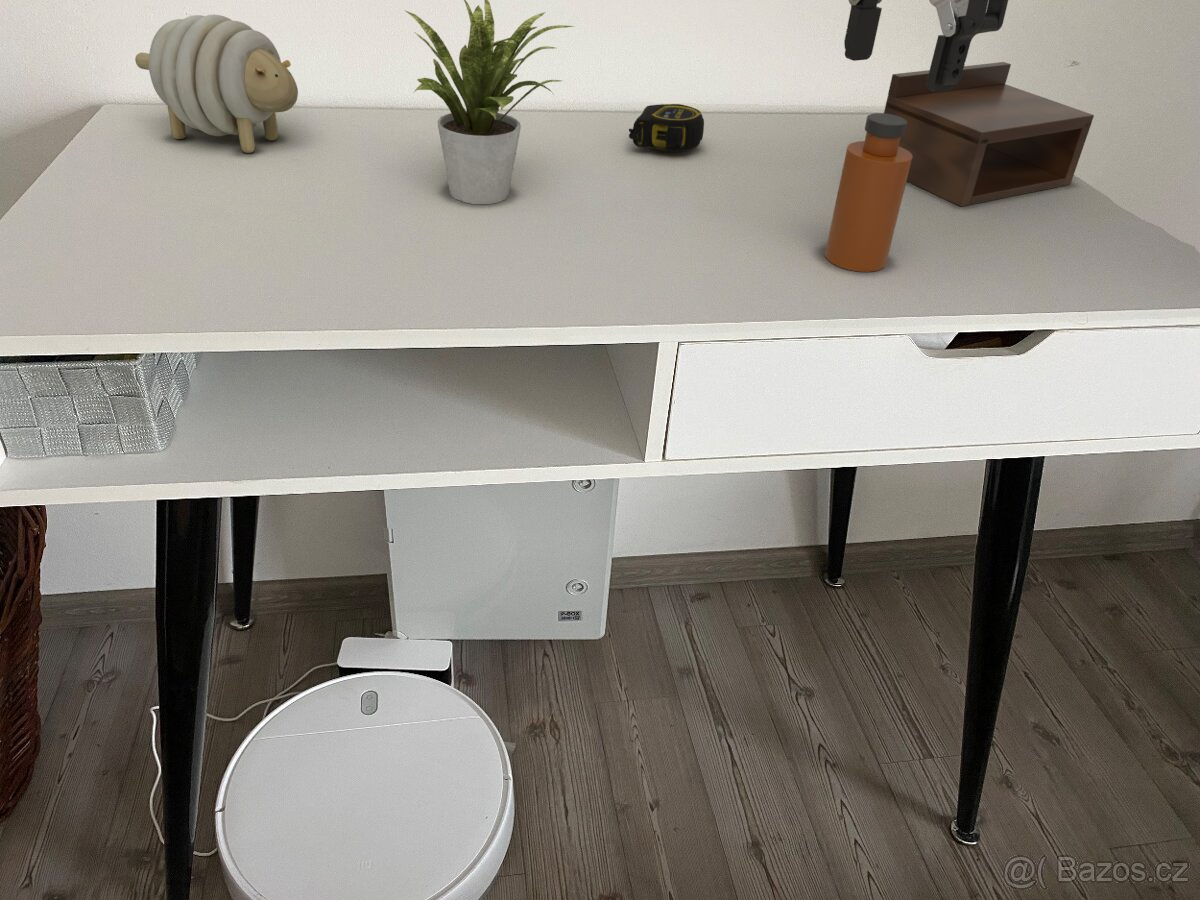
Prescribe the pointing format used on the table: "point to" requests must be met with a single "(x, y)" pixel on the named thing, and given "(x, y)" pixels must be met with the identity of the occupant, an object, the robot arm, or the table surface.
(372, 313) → the table surface
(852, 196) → the bottle
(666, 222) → the table surface
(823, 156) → the table surface
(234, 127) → the toy sheep
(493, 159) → the house plant
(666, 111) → the tape measure
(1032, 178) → the box
